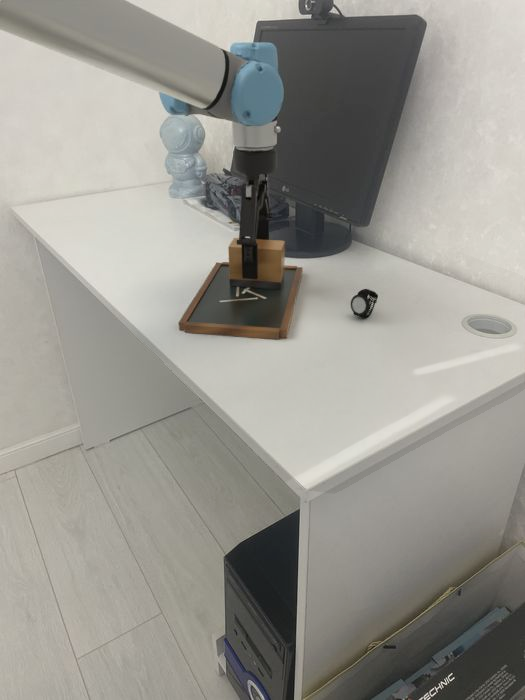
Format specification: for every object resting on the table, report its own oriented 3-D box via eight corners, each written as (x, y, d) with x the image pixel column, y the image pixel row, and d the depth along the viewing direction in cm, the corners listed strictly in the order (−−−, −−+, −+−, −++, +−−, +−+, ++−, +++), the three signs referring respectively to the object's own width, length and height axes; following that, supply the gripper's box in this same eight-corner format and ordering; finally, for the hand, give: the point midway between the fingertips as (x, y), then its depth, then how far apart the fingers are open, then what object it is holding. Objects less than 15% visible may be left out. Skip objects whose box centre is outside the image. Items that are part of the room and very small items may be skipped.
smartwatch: (346, 314, 92) (348, 289, 90) (371, 309, 94) (374, 284, 91) (358, 324, 89) (361, 298, 86) (384, 319, 91) (387, 293, 88)
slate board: (178, 332, 87) (177, 324, 86) (217, 268, 111) (217, 261, 110) (286, 340, 85) (286, 332, 84) (302, 273, 109) (302, 266, 108)
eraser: (229, 286, 100) (228, 246, 96) (234, 276, 104) (233, 237, 100) (280, 289, 99) (281, 249, 94) (284, 279, 103) (285, 240, 99)
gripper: (265, 162, 77) (265, 292, 88) (285, 135, 98) (283, 243, 109) (216, 161, 78) (222, 289, 89) (247, 134, 99) (249, 241, 110)
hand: (256, 264), depth 99 cm, fingers open, 13 cm apart
